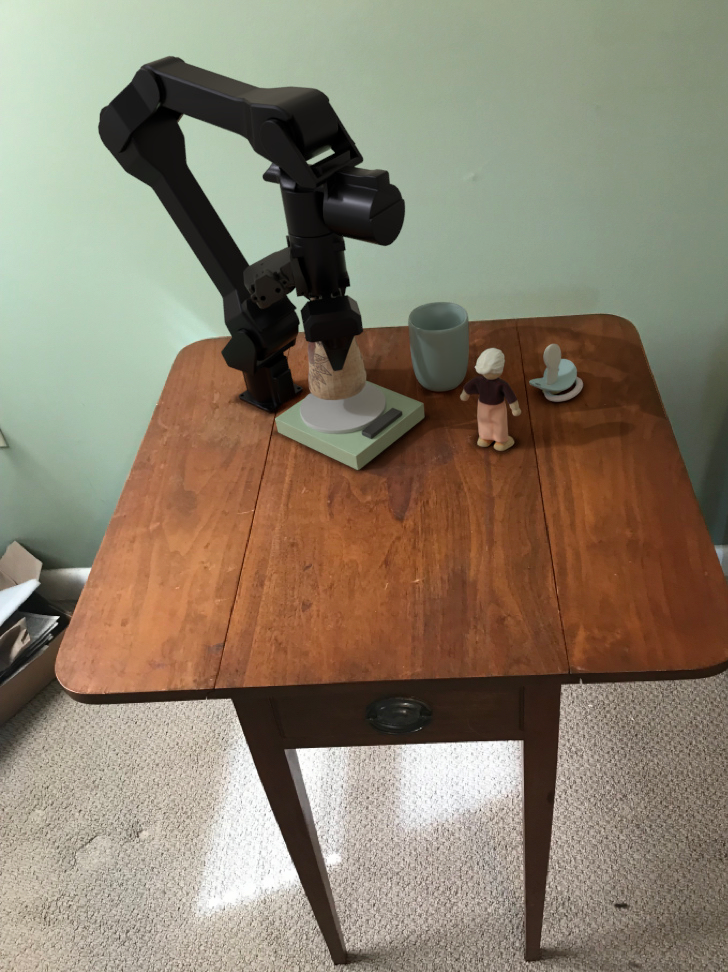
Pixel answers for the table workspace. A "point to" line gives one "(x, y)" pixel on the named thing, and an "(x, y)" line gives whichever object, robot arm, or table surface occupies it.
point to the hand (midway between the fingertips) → (334, 355)
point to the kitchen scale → (351, 423)
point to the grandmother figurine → (492, 400)
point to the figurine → (335, 373)
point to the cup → (439, 345)
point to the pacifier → (557, 376)
